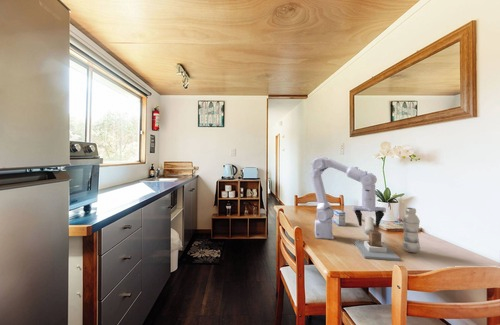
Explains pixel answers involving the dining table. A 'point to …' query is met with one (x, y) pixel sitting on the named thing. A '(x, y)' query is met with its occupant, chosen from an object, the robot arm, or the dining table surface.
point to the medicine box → (339, 217)
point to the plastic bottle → (411, 231)
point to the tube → (369, 224)
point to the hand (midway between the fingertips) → (368, 226)
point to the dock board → (376, 251)
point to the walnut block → (374, 238)
